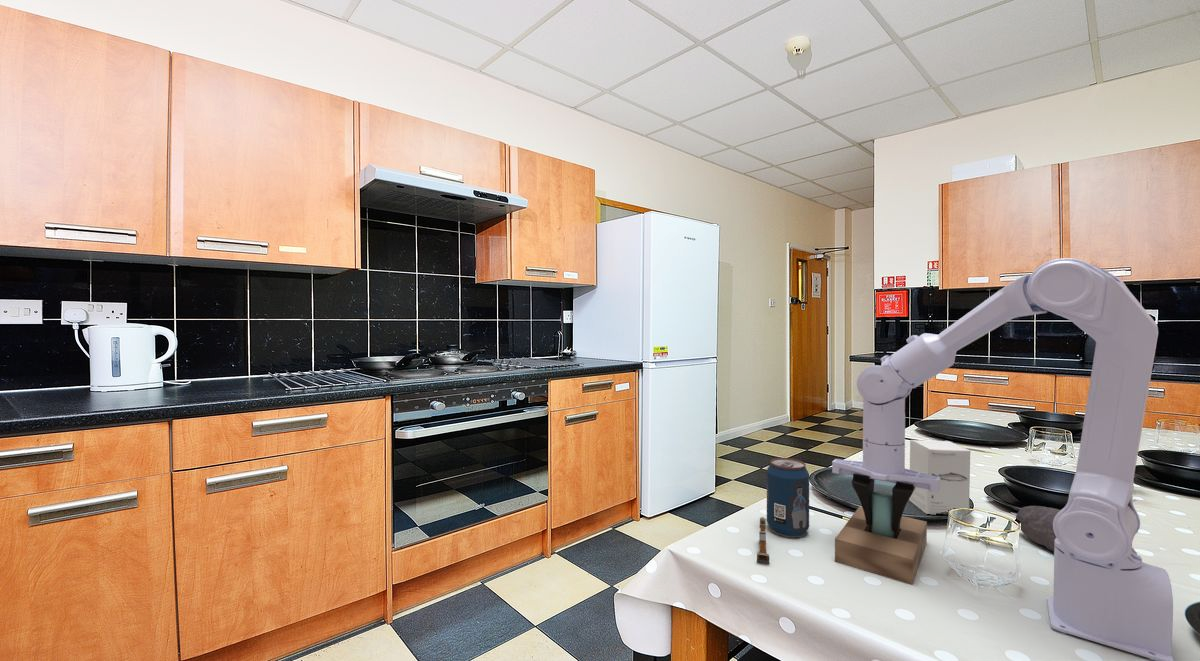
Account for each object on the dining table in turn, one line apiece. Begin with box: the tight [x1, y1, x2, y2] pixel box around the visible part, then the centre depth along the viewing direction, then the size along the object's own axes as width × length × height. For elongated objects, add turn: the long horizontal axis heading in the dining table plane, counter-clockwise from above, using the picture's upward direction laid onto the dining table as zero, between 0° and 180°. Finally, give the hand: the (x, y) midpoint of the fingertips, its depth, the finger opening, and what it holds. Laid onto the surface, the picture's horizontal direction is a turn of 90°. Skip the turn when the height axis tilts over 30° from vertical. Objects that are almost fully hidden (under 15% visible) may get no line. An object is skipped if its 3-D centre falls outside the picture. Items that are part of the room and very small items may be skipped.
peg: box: [872, 490, 894, 538], centre depth 75 cm, size 3×3×8 cm
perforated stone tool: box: [1015, 505, 1062, 553], centre depth 75 cm, size 15×5×7 cm, turn 6°
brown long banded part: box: [756, 516, 770, 564], centre depth 76 cm, size 2×8×4 cm, turn 162°
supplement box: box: [908, 439, 971, 515], centre depth 92 cm, size 7×7×13 cm
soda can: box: [766, 457, 810, 539], centre depth 83 cm, size 7×7×12 cm
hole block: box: [834, 506, 928, 585], centre depth 76 cm, size 10×16×4 cm, turn 140°
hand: (882, 526), depth 76 cm, fingers closed on peg, 3 cm apart
